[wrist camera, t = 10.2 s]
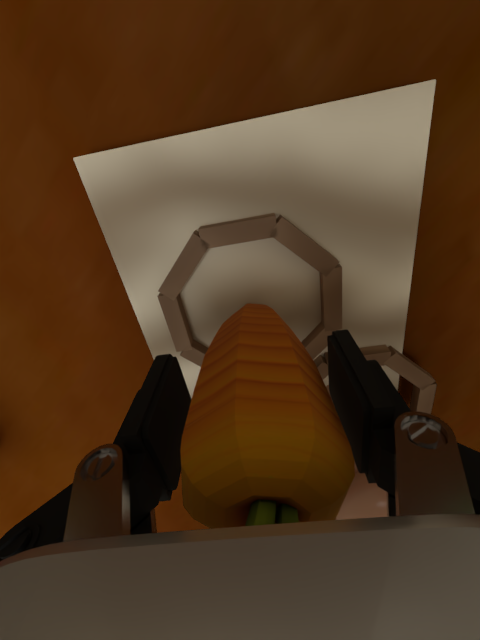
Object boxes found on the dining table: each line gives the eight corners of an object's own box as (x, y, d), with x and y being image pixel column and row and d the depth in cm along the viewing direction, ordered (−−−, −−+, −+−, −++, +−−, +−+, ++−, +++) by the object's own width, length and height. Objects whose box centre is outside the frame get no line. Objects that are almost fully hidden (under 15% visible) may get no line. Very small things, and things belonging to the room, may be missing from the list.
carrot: (312, 291, 16) (605, 844, 3) (269, 354, 18) (331, 834, 5) (234, 253, 15) (168, 833, 2) (198, 324, 17) (55, 827, 4)
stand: (407, 427, 24) (422, 452, 22) (198, 448, 25) (194, 473, 23) (463, 77, 13) (504, 61, 11) (88, 158, 14) (63, 157, 12)
